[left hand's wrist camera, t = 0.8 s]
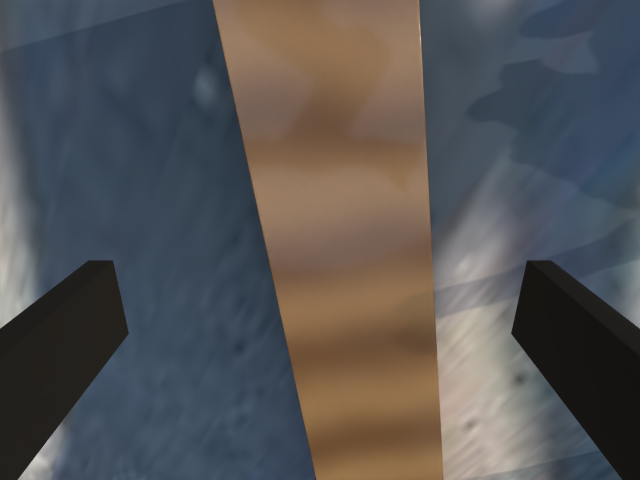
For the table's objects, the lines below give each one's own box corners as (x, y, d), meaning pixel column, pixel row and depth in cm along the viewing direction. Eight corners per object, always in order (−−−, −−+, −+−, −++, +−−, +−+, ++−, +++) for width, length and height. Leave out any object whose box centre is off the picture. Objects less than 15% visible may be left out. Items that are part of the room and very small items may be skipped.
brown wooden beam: (233, -14, 24) (200, -54, 17) (386, -41, 24) (414, -93, 17) (351, 579, 46) (356, 667, 39) (431, 571, 46) (452, 658, 39)
